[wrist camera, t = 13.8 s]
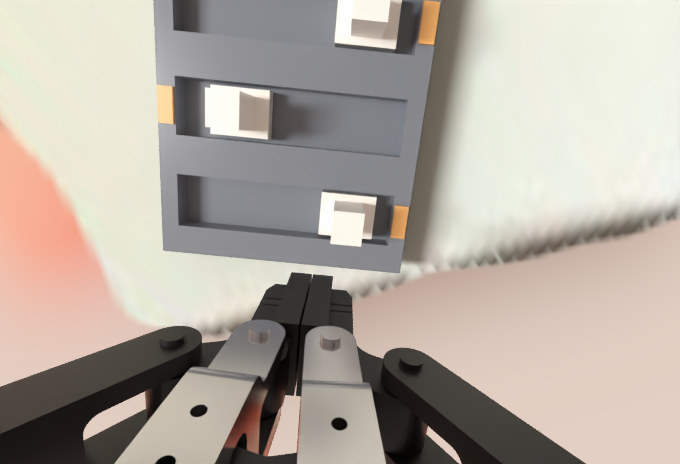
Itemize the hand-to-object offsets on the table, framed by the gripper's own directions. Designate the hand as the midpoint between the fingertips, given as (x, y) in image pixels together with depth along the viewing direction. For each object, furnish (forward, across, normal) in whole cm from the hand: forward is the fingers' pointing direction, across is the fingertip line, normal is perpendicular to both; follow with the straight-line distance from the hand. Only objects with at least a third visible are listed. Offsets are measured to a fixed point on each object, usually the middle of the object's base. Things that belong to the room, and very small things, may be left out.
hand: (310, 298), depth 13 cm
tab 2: (+15, -1, -13) cm, 20 cm away
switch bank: (+16, +3, -6) cm, 18 cm away
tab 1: (+15, +7, -6) cm, 18 cm away
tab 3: (+15, -1, 0) cm, 15 cm away
